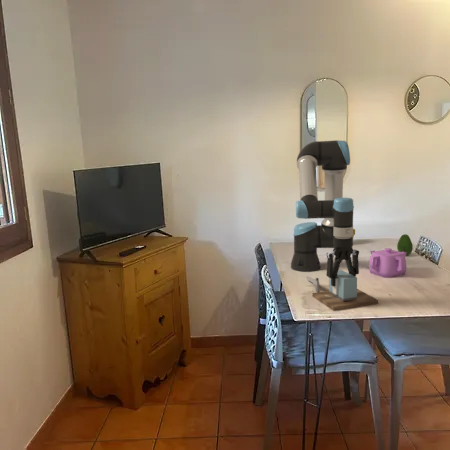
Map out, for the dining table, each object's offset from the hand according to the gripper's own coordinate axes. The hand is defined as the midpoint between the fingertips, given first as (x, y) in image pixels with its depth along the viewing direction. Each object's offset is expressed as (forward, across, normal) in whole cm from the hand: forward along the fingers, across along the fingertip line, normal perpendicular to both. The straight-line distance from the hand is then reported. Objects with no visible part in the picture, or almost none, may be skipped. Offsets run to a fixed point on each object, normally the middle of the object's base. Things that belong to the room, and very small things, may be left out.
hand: (342, 292), depth 174 cm
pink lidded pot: (+4, +40, +25) cm, 47 cm away
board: (+3, +1, 0) cm, 4 cm away
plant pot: (+4, +56, +86) cm, 102 cm away
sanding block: (+1, 0, 0) cm, 1 cm away
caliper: (+4, -2, +22) cm, 23 cm away
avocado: (+4, +69, +48) cm, 84 cm away
